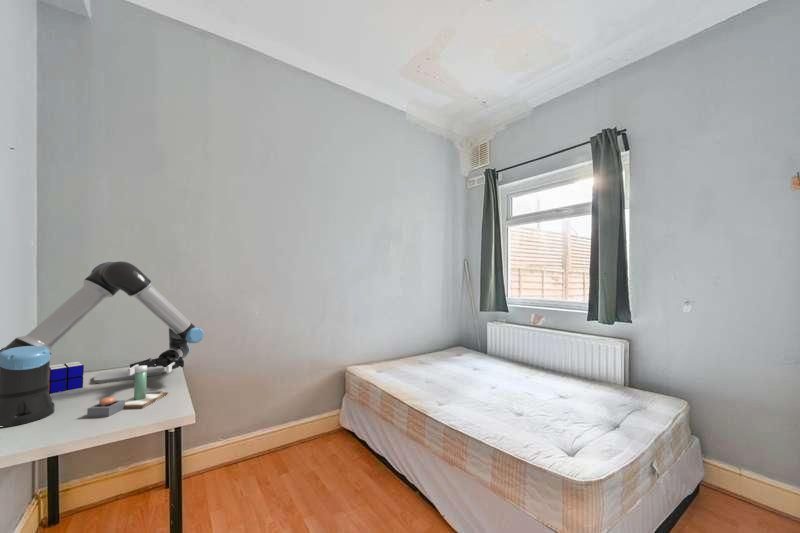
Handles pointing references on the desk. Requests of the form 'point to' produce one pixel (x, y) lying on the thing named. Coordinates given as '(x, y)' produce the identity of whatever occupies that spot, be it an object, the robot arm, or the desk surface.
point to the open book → (150, 398)
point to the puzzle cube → (65, 377)
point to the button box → (105, 409)
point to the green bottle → (140, 382)
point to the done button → (107, 401)
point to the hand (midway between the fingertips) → (148, 371)
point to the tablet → (124, 374)
